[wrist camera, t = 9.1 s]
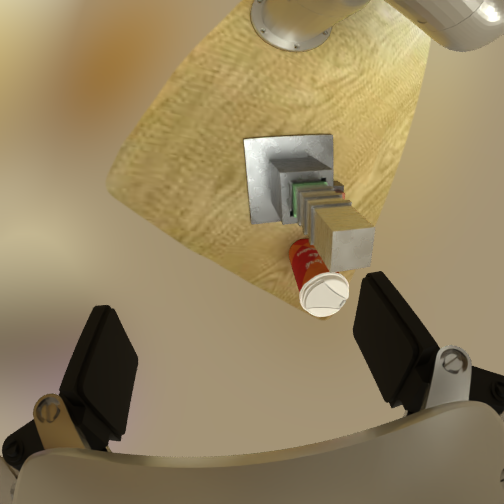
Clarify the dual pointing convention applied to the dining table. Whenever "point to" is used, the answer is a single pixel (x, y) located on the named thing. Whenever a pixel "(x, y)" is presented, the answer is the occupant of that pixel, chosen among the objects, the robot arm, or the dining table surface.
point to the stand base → (284, 172)
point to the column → (331, 224)
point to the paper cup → (317, 281)
